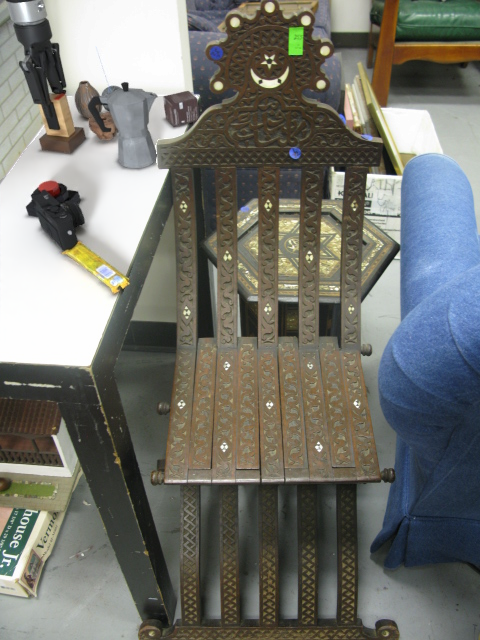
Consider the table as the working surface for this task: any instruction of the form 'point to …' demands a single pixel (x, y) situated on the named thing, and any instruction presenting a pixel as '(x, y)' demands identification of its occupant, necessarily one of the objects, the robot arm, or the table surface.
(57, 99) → the tan wooden block
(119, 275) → the candy bar
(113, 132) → the artifact
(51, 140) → the brown square block
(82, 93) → the vase
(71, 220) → the camera
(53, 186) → the button
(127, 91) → the coffeepot
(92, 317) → the table surface
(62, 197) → the button block
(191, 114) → the box
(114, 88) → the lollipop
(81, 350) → the table surface
